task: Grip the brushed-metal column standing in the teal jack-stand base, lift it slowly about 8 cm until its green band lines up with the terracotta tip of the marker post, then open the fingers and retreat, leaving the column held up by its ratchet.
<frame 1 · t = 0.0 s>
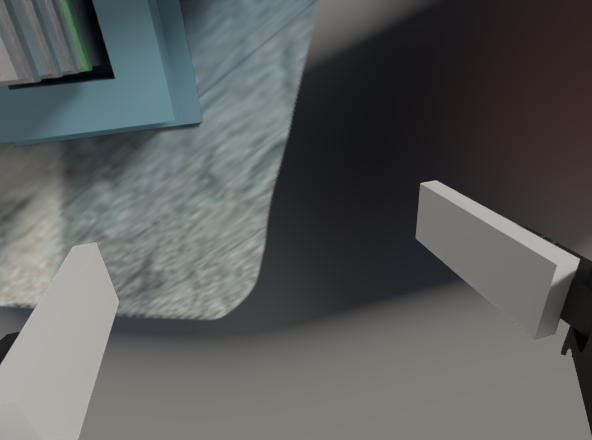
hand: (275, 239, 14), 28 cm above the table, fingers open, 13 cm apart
column: (32, 27, 22), point 12 cm above the table, slide at 0.6 cm
stand base: (84, 34, 33), on the table
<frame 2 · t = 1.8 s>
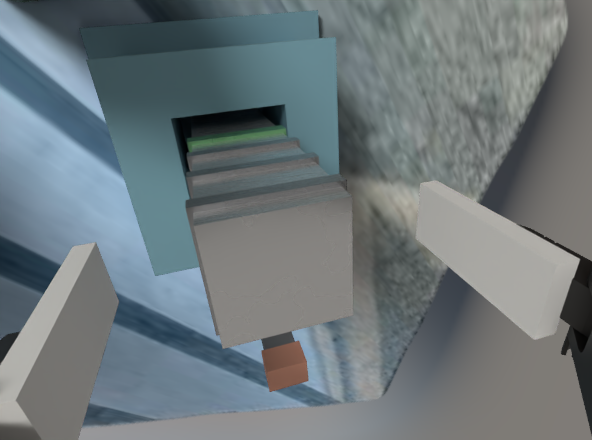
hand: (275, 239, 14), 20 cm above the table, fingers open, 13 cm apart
column: (242, 175, 22), point 12 cm above the table, slide at 0.6 cm
stand base: (225, 133, 32), on the table
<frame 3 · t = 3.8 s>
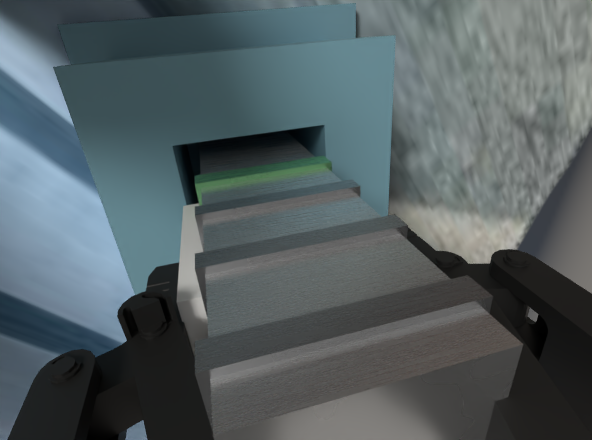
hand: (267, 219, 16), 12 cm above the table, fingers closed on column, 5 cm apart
column: (268, 221, 16), point 12 cm above the table, slide at 0.6 cm, touching gripper
stand base: (239, 153, 26), on the table
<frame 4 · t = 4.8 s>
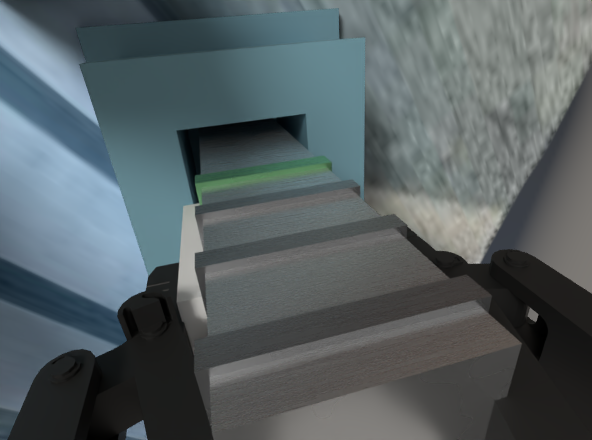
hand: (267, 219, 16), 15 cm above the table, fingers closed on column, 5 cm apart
column: (268, 221, 16), point 15 cm above the table, slide at 3.9 cm, touching gripper
stand base: (235, 142, 29), on the table
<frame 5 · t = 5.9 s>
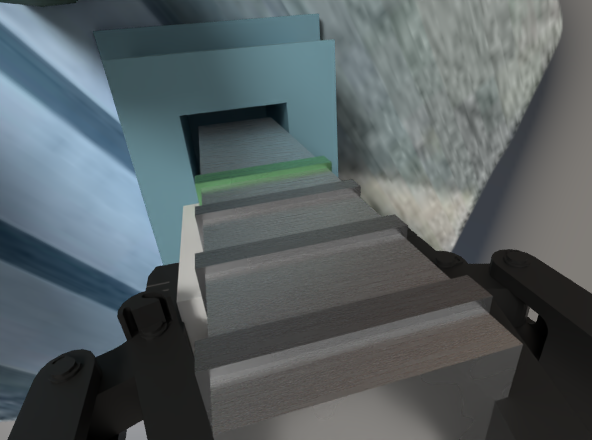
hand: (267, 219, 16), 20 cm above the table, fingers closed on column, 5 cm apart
column: (268, 221, 16), point 20 cm above the table, slide at 8.6 cm, touching gripper
stand base: (230, 131, 33), on the table
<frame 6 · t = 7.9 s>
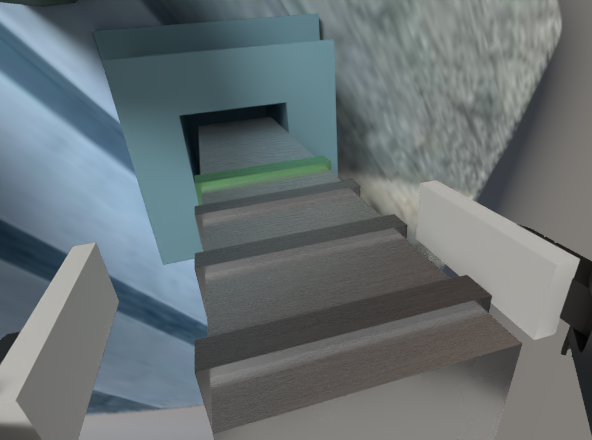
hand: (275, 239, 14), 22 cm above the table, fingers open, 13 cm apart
column: (267, 221, 16), point 20 cm above the table, slide at 8.6 cm
stand base: (229, 131, 33), on the table
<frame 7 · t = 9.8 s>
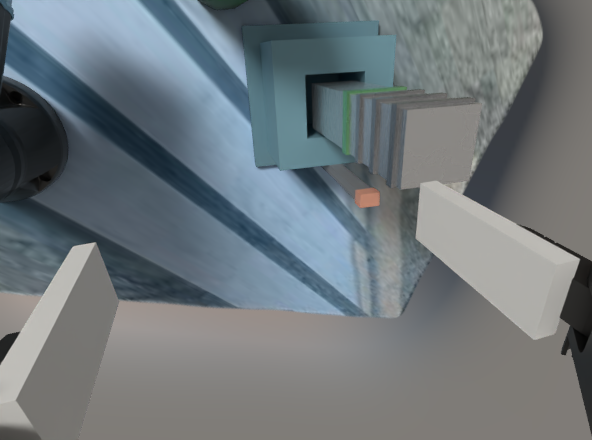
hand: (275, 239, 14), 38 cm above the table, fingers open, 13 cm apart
column: (370, 119, 32), point 20 cm above the table, slide at 8.6 cm
stand base: (313, 96, 50), on the table
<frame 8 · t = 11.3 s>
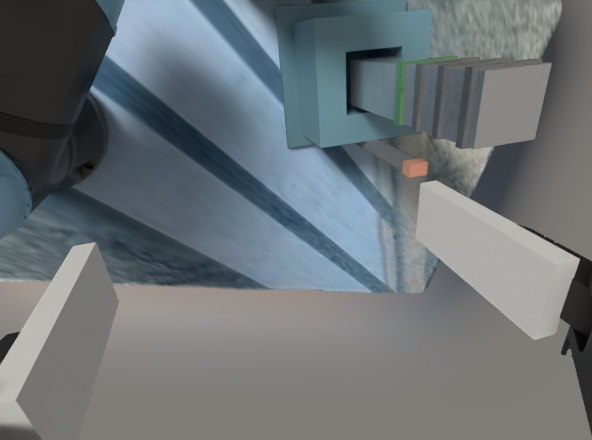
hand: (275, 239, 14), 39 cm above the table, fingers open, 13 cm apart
column: (420, 90, 33), point 20 cm above the table, slide at 8.6 cm
stand base: (343, 75, 51), on the table
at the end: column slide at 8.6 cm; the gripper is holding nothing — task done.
